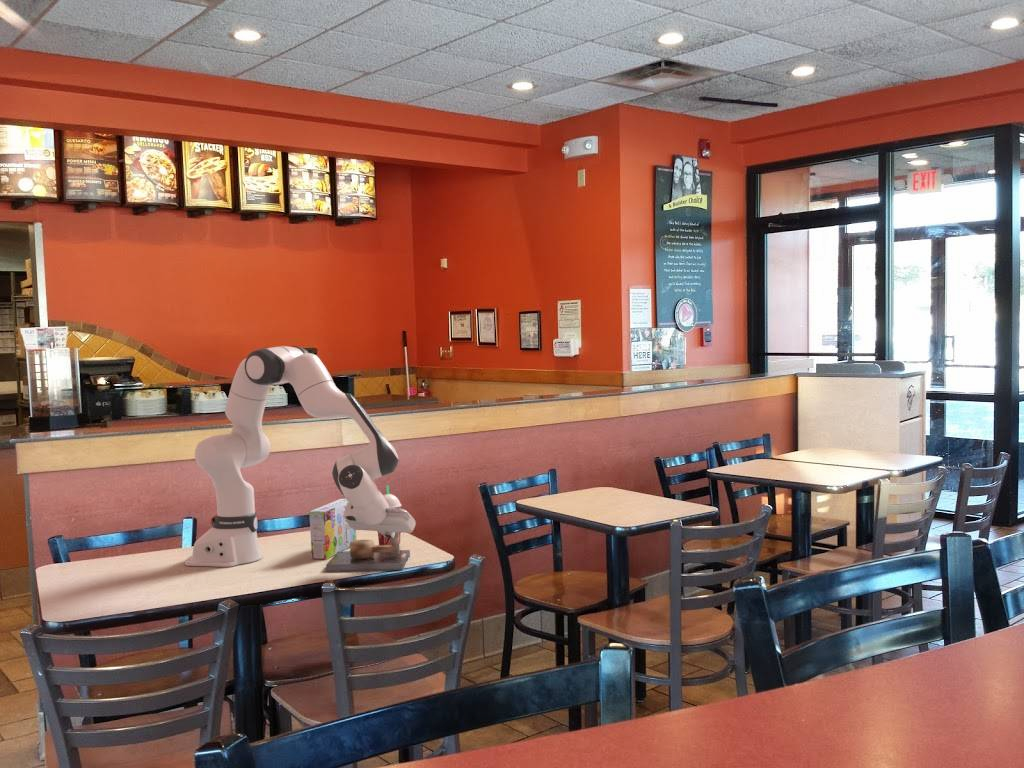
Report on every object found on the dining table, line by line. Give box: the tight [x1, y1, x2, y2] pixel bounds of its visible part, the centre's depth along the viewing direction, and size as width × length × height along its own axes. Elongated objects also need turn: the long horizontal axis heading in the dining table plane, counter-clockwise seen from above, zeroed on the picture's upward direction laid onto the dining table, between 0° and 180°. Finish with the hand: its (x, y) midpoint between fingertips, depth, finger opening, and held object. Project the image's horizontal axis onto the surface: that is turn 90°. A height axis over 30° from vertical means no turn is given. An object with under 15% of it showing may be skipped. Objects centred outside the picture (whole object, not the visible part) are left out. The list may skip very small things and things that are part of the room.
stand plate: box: [325, 549, 411, 573], centre depth 268 cm, size 22×16×2 cm
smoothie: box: [377, 485, 402, 545], centre depth 287 cm, size 8×8×20 cm
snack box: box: [308, 498, 357, 560], centre depth 285 cm, size 21×6×15 cm, turn 164°
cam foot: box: [349, 532, 401, 559], centre depth 267 cm, size 15×7×12 cm, turn 86°
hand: (390, 535), depth 264 cm, fingers closed
